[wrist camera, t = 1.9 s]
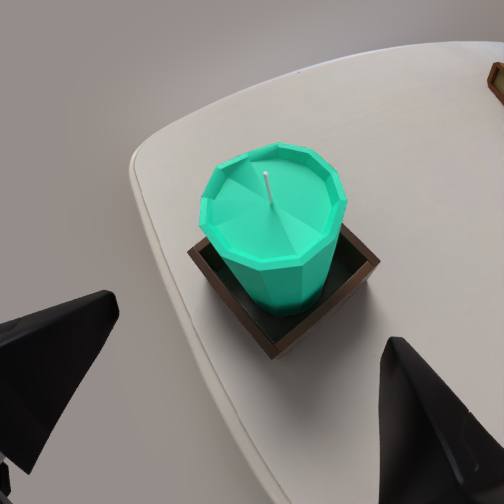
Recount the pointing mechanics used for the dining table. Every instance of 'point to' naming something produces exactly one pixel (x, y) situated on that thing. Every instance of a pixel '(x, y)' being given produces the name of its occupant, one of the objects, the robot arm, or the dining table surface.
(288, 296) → the candle
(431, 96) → the dining table surface
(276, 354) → the holder
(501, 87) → the diary
